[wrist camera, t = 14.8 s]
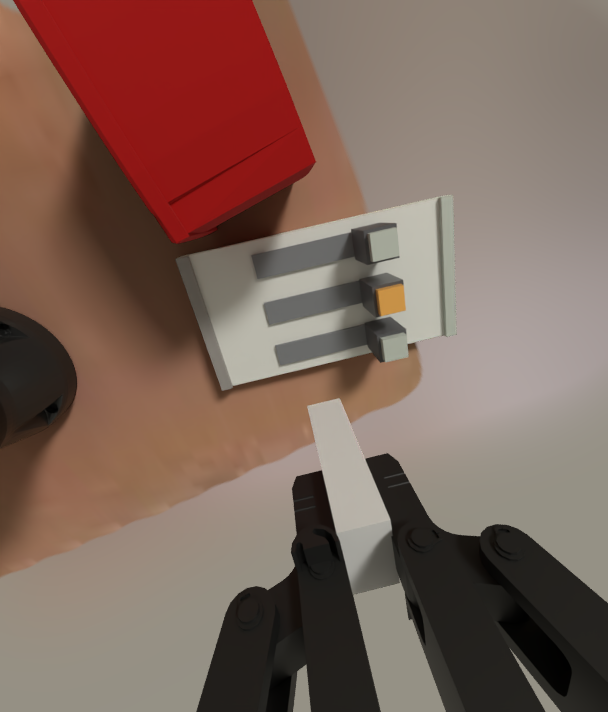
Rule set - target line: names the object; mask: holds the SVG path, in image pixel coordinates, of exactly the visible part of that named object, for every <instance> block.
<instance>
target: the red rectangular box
mask: <svg viewBox="0 0 608 712" xmlns="http://www.w3.org/2000/svg"><path fill="white" fill-rule="evenodd" d="M13 1H14V2H15V4H16V6H17V7H18V9H19V11H20V12H21V14H22V16H23V17H24V19H25V20H26V22H27V24H28V25H29V27H30V28H31V30H32V32H33V33H34V35H35V36H36V38H37V39H38V41H39V43H40V44H41V46H42V47H43V49H44V51H45V52H46V54H47V55H48V57H49V59H50V60H51V62H52V63H53V65H54V66H55V68H56V70H57V71H58V73H59V74H60V76H61V77H62V79H63V81H64V82H65V84H66V85H67V87H68V88H69V90H70V91H71V93H72V95H73V96H74V98H75V99H76V101H77V102H78V104H79V105H80V107H81V109H82V110H83V112H84V113H85V115H86V116H87V118H88V119H89V121H90V122H91V124H92V126H93V127H94V129H95V130H96V132H97V133H98V135H99V136H100V138H101V139H102V141H103V142H104V144H105V146H106V147H107V149H108V150H109V152H110V153H111V155H112V156H113V158H114V159H115V161H116V162H117V164H118V165H119V167H120V168H121V170H122V171H123V173H124V174H125V176H126V177H127V179H128V180H129V182H130V183H131V185H132V186H133V187H134V189H135V190H136V192H137V193H138V195H139V196H140V198H141V199H142V201H143V202H144V203H145V205H146V206H147V208H148V209H149V211H150V212H151V213H152V214H153V215H154V216H155V218H156V219H157V221H158V222H159V224H160V225H161V227H162V228H163V230H164V232H165V233H166V235H167V236H168V238H169V239H170V241H171V242H172V243H176V244H180V243H183V242H187V241H191V240H194V239H198V238H201V237H203V236H206V235H209V234H211V233H213V232H215V231H216V230H218V229H217V227H216V226H217V225H219V224H221V223H223V222H225V221H226V220H228V219H230V218H232V217H234V216H235V215H237V214H239V213H241V212H242V211H244V210H246V209H248V208H250V207H251V206H253V205H255V204H257V203H259V202H260V201H262V200H264V199H266V198H268V197H269V196H271V195H273V194H275V193H277V192H278V191H280V190H282V189H284V188H286V187H287V186H289V185H291V184H293V183H295V182H296V181H298V180H300V179H302V178H303V177H305V176H306V175H307V174H308V173H309V172H310V170H311V169H312V167H313V165H314V164H315V162H316V161H315V158H314V156H313V153H312V150H311V148H310V145H309V142H308V140H307V137H306V135H305V132H304V129H303V127H302V124H301V121H300V119H299V116H298V114H297V111H296V109H295V106H294V103H293V101H292V98H291V96H290V93H289V90H288V88H287V85H286V83H285V80H284V78H283V75H282V73H281V70H280V68H279V65H278V63H277V60H276V58H275V55H274V53H273V50H272V48H271V46H270V43H269V41H268V38H267V36H266V33H265V31H264V28H263V26H262V24H261V21H260V19H259V16H258V14H257V11H256V9H255V7H254V4H253V2H252V0H13Z"/></svg>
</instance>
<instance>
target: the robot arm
mask: <svg viewBox="0 0 608 712" xmlns="http://www.w3.org/2000/svg"><path fill="white" fill-rule="evenodd" d="M76 386H77V379H76V372H75V368H74V365H73V363H72V360H71V358H70V356H69V354H68V353H67V351H66V350H65V348H64V347H63V345H62V344H61V343H60V342H59V341H58V339H57V338H56V337H55V336H54V335H53V334H52V333H50V332H49V331H48V330H47V329H46V328H44V327H43V326H42V325H40V324H39V323H37V322H36V321H34V320H32V319H30V318H29V317H27V316H25V315H22V314H20V313H18V312H15V311H12V310H9V309H6V308H2V307H0V449H1V448H3V447H5V446H8V445H10V444H12V443H15V442H17V441H19V440H22V439H24V438H27V437H29V436H31V435H34V434H36V433H38V432H40V431H42V430H44V429H45V428H47V427H49V426H50V425H51V424H53V423H54V422H55V421H56V420H57V419H58V418H59V417H60V416H61V415H62V414H63V413H64V412H65V411H66V410H67V409H68V408H69V406H70V405H71V403H72V401H73V399H74V396H75V392H76ZM307 407H308V411H309V415H310V420H311V424H312V429H313V433H314V437H315V442H316V446H317V450H318V455H319V459H320V464H321V468H322V470H321V471H318V472H313V473H309V474H305V475H301V476H297V477H296V479H295V482H294V485H293V487H292V493H293V501H294V511H295V521H296V531H297V535H296V537H295V539H294V541H293V543H292V548H291V554H292V557H293V560H294V563H295V567H294V569H293V571H292V572H291V573H290V574H289V576H288V577H286V578H285V579H284V580H283V581H281V582H280V583H278V584H277V585H275V586H274V587H272V588H271V589H269V590H266V589H265V588H262V587H257V586H255V587H250V588H247V589H245V590H243V591H242V592H241V593H239V594H238V595H237V596H236V597H235V598H234V599H233V601H232V602H231V603H230V605H229V607H228V610H227V612H226V614H225V617H224V621H223V624H222V628H221V631H220V634H219V638H218V641H217V644H216V648H215V651H214V654H213V658H212V661H211V664H210V668H209V671H208V675H207V678H206V681H205V685H204V688H203V692H202V695H201V698H200V701H199V705H198V708H197V712H293V706H294V697H295V688H296V679H297V671H298V670H299V669H300V668H302V667H303V666H305V665H306V664H307V674H308V685H309V695H310V705H311V712H381V711H380V707H379V702H378V698H377V694H376V690H375V686H374V682H373V678H372V673H371V669H370V665H369V660H368V656H367V652H366V648H365V644H364V640H363V636H362V631H361V627H360V623H359V619H358V614H357V610H356V606H355V602H354V597H353V595H354V594H358V593H362V592H366V591H369V590H374V589H377V588H382V587H386V586H390V585H394V584H397V583H400V582H399V578H400V580H401V583H402V586H403V588H404V591H405V598H406V605H407V612H408V618H409V620H410V619H412V620H413V622H414V625H415V628H416V631H417V634H418V636H419V639H420V642H421V645H422V647H423V650H424V653H425V655H426V658H427V661H428V664H429V666H430V669H431V672H432V675H433V677H434V680H435V683H436V686H437V688H438V691H439V694H440V696H441V699H442V702H443V705H444V707H445V710H446V712H545V710H544V708H543V707H542V705H541V703H540V701H539V700H538V698H537V696H536V695H535V693H534V691H533V689H532V687H531V686H530V684H529V682H528V680H527V678H526V677H525V675H524V673H523V672H522V670H521V668H520V667H519V664H518V663H517V661H516V659H515V657H514V656H513V654H512V652H511V650H512V651H513V653H514V654H515V655H516V656H517V658H518V659H519V660H520V661H521V663H522V664H523V665H524V666H525V667H526V669H527V670H528V671H529V672H530V674H531V675H532V676H533V677H534V679H535V680H536V681H537V682H538V684H539V685H540V686H541V687H542V688H543V690H544V691H545V692H546V693H547V695H548V696H549V697H550V699H551V700H552V701H553V702H554V704H555V705H556V706H557V707H558V708H559V710H560V711H561V712H608V603H607V602H606V601H604V600H603V599H602V598H601V597H600V596H599V595H597V594H596V593H595V592H594V591H593V590H592V589H590V588H589V587H588V586H587V585H586V584H585V583H583V582H582V581H581V580H580V579H579V578H578V577H576V576H575V575H574V574H573V573H572V572H570V571H569V570H568V569H567V568H566V567H565V566H563V565H562V564H561V563H560V562H559V561H558V560H556V559H555V558H554V557H553V556H552V555H551V554H549V553H548V552H547V551H546V550H545V549H543V548H542V547H541V546H540V545H539V544H538V543H536V542H535V541H534V540H533V539H532V538H530V537H529V536H528V535H527V534H525V533H524V532H522V531H521V530H519V529H517V528H514V527H511V526H508V525H499V524H496V525H492V526H489V527H487V528H486V529H485V530H483V531H482V533H481V536H464V535H456V534H452V533H449V532H446V531H444V530H442V529H441V528H439V527H438V526H436V525H435V524H434V523H433V522H432V521H431V519H430V518H429V516H428V515H427V513H426V511H425V509H424V507H423V506H422V504H421V502H420V500H419V499H418V497H417V495H416V493H415V491H414V489H413V487H412V486H411V484H410V483H409V480H408V478H407V477H406V475H405V474H404V471H403V469H402V468H401V466H400V464H399V462H398V461H397V460H395V459H394V458H393V457H392V456H390V455H389V454H388V453H387V454H383V455H379V456H375V457H370V458H367V459H365V458H364V455H363V453H362V451H361V448H360V446H359V443H358V441H357V439H356V437H355V434H354V432H353V429H352V427H351V424H350V422H349V419H348V417H347V415H346V412H345V410H344V408H343V405H342V403H341V400H340V398H338V399H334V400H330V401H326V402H322V403H318V404H314V405H310V406H307ZM508 646H509V647H508ZM510 649H511V650H510Z"/></svg>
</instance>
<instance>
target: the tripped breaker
mask: <svg viewBox="0 0 608 712" xmlns="http://www.w3.org/2000/svg"><path fill="white" fill-rule="evenodd" d="M359 282H360V289H361V296H362V303H363V307H364V308H365V309H367V310H368V311H369V312H370V313H371V314H372V315H373V316H374V317H381V316H385V315H389V314H393V313H397V312H402V311H406V306H405V294H404V283H403V279H400V278H398V277H396V276H393V275H391V274H389V273H383V274H378V275H374V276H370V277H366V278H361V279H359Z"/></svg>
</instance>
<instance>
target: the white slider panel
mask: <svg viewBox="0 0 608 712" xmlns="http://www.w3.org/2000/svg"><path fill="white" fill-rule="evenodd" d="M175 260H176V263H177V265H178V268H179V271H180V274H181V277H182V279H183V282H184V285H185V288H186V291H187V293H188V296H189V299H190V302H191V305H192V308H193V310H194V313H195V316H196V319H197V322H198V324H199V327H200V330H201V333H202V336H203V338H204V341H205V344H206V347H207V350H208V352H209V355H210V358H211V361H212V364H213V367H214V369H215V372H216V375H217V378H218V381H219V383H220V386H221V389H222V391H223V390H227V389H231V388H232V387H233V386H234V385H239V384H243V383H247V382H251V381H255V380H259V379H264V378H268V377H272V376H276V375H280V374H284V373H289V372H293V371H297V370H301V369H305V368H310V367H314V366H318V365H322V364H326V363H330V362H335V361H339V360H343V359H347V358H351V357H355V356H360V355H364V354H368V353H373V354H374V355H375V357H376V358H377V359H378V360H379V362H380V363H381V362H389V361H393V360H398V359H402V358H406V357H408V345H407V344H410V343H414V342H418V341H422V340H426V339H431V338H435V337H439V336H443V335H444V336H446V337H448V336H453V335H456V294H455V254H454V214H453V195H448V196H440V197H436V198H431V199H427V200H423V201H418V202H414V203H410V204H406V205H401V206H397V207H392V208H388V209H384V210H379V211H375V212H371V213H366V214H362V215H358V216H353V217H349V218H345V219H340V220H336V221H332V222H327V223H323V224H319V225H314V226H310V227H306V228H301V229H297V230H293V231H288V232H284V233H280V234H275V235H271V236H267V237H262V238H258V239H254V240H249V241H245V242H241V243H236V244H232V245H228V246H223V247H219V248H215V249H210V250H206V251H202V252H197V253H193V254H189V255H184V256H181V257H178V258H176V259H175ZM383 273H389V274H391V275H393V276H396V277H398V278H400V279H403V283H404V294H405V306H406V311H402V312H397V313H393V314H389V315H385V316H381V317H374V316H373V315H372V314H371V313H370V312H369V311H368V310H367V309H365V308H364V307H363V303H362V296H361V289H360V282H359V279H361V278H366V277H370V276H374V275H378V274H383Z"/></svg>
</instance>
